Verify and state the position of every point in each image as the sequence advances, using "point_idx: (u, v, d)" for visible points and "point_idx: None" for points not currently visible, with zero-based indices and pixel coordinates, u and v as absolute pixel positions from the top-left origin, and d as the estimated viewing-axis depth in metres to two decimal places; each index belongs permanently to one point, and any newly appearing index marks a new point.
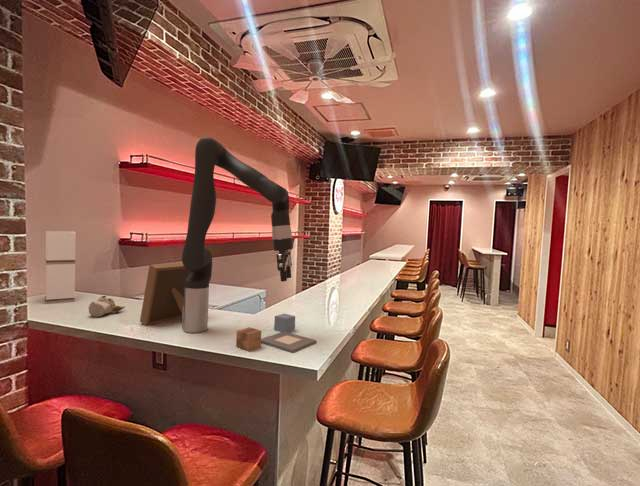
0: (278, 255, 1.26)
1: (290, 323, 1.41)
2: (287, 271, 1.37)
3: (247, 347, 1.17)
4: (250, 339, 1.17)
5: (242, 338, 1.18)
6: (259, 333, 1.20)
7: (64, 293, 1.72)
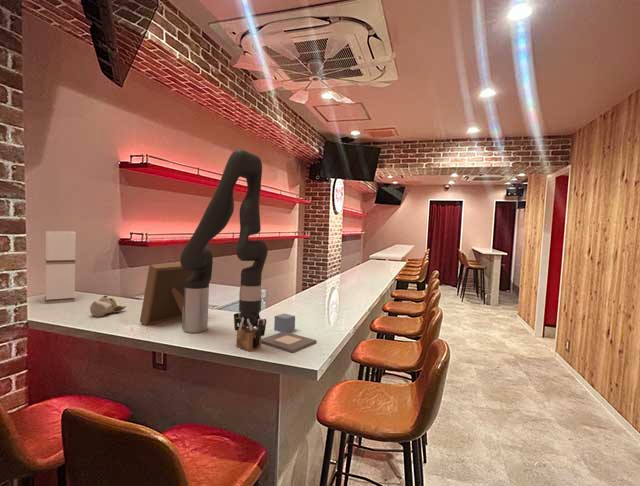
0: None
1: (290, 323, 1.41)
2: None
3: (247, 347, 1.17)
4: (250, 339, 1.17)
5: (242, 338, 1.18)
6: None
7: (64, 293, 1.72)
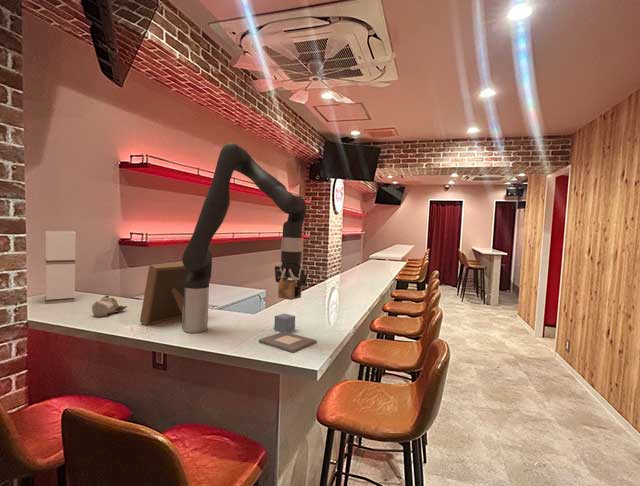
0: None
1: (290, 323, 1.41)
2: None
3: (289, 296, 1.23)
4: (292, 288, 1.23)
5: (284, 287, 1.24)
6: None
7: (64, 293, 1.72)
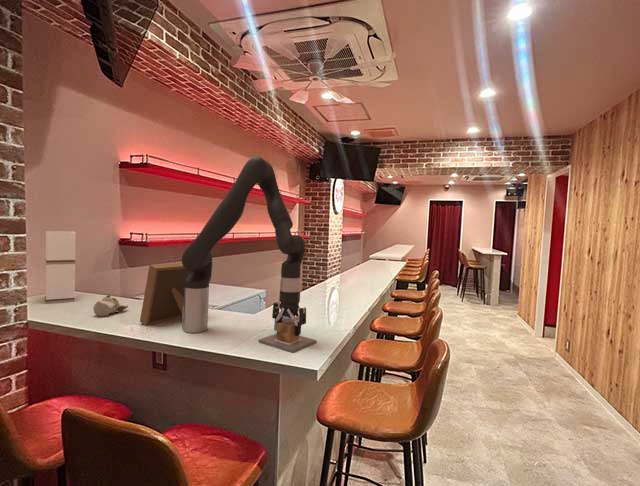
0: None
1: None
2: None
3: (287, 339, 1.23)
4: (290, 332, 1.24)
5: (283, 330, 1.25)
6: None
7: (64, 293, 1.72)
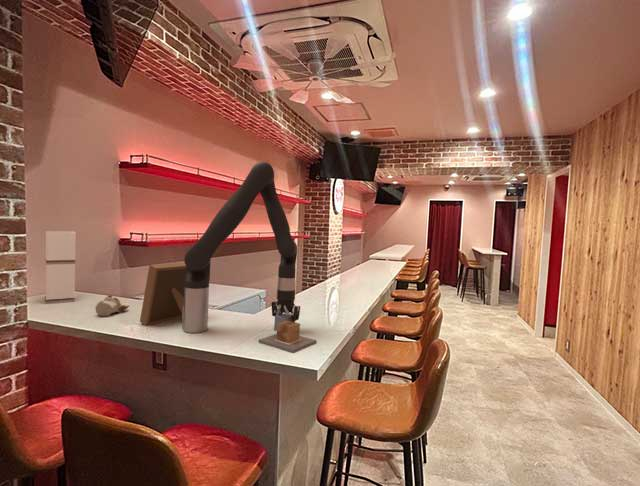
0: None
1: None
2: None
3: (287, 339, 1.23)
4: (290, 332, 1.24)
5: (283, 330, 1.25)
6: (298, 326, 1.27)
7: (64, 293, 1.72)
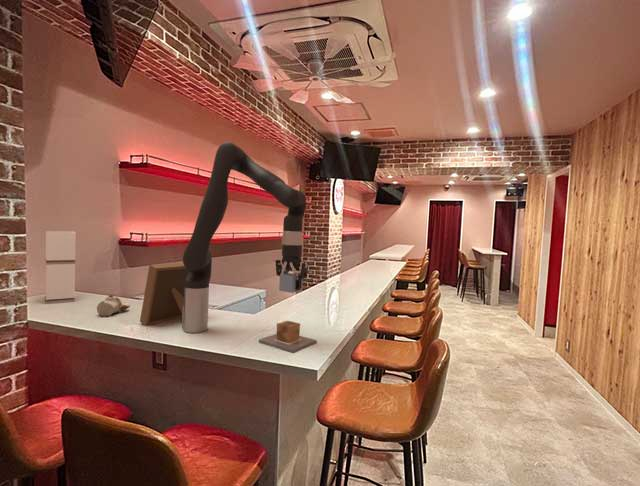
0: None
1: None
2: None
3: (287, 339, 1.23)
4: (290, 332, 1.24)
5: (283, 330, 1.25)
6: (298, 326, 1.27)
7: (64, 293, 1.72)
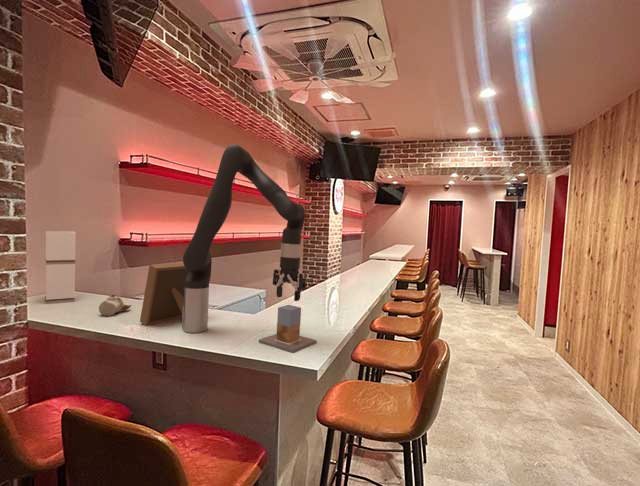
0: None
1: (295, 315, 1.25)
2: None
3: (287, 339, 1.23)
4: (290, 332, 1.24)
5: (283, 330, 1.25)
6: (298, 326, 1.27)
7: (64, 293, 1.72)
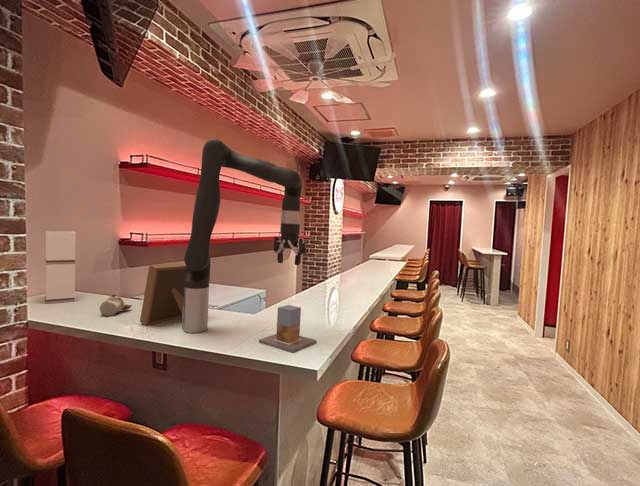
0: None
1: (295, 315, 1.25)
2: None
3: (287, 339, 1.24)
4: (290, 332, 1.24)
5: (283, 330, 1.25)
6: (298, 326, 1.27)
7: (64, 293, 1.72)
